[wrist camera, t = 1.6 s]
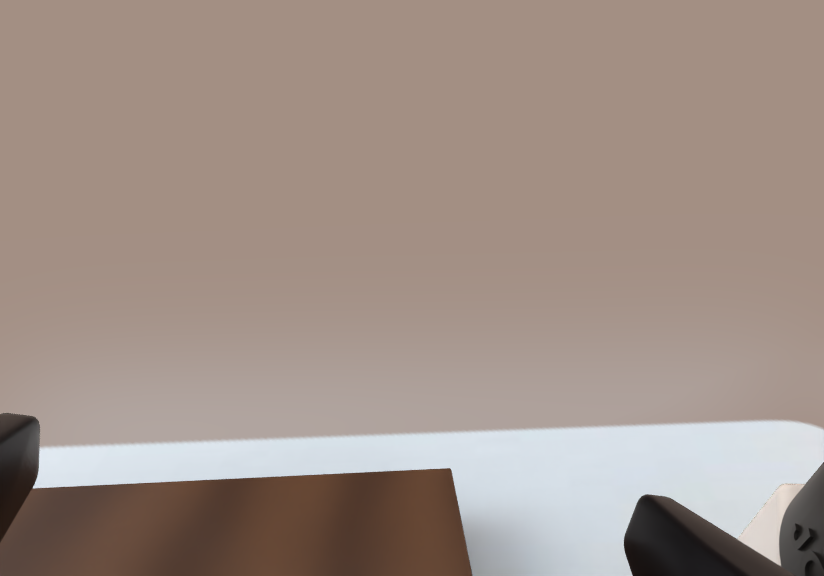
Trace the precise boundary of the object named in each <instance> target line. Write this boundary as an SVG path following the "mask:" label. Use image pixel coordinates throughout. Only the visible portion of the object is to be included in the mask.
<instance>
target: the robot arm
mask: <svg viewBox="0 0 824 576" xmlns="http://www.w3.org/2000/svg"><path fill="white" fill-rule="evenodd" d="M39 442H40V425H39V421H38V420H37V419H36V418H35V417H33V416H27V415H18V414H11V413H3V414H0V542H1V541H2V539H3V537H4V536H5V534H6V532H7V531H8V529H9V527H10V525H11V524H12V522H13V520H14V519H15V517H16V515H17V513H18V512H19V510H20V508H21V507H22V505H23V503H24V502H25V500H26V498H27V496H28V495H29V493H30V491H31V490H32V488H33V486H34V484H35V481H36V478H37V475H38V469H39ZM624 549H625V554H626V557H627V560H628V563H629V566H630V569H631V572H632V575H633V576H796V575H794V574H793V573H791V572H789V571H788V570H786V569H785V568H783V567H781V566H780V565H778V564H776V563H775V562H773V561H772V560H770V559H768V558H767V557H765V556H763V555H762V554H760V553H759V552H757V551H755V550H754V549H752V548H750V547H749V546H747V545H746V544H744V543H742V542H741V541H739V540H737V539H736V538H734V537H733V536H731V535H729V534H728V533H726V532H724V531H723V530H721V529H720V528H718V527H716V526H715V525H713V524H712V523H710V522H708V521H707V520H705V519H703V518H702V517H700V516H699V515H697V514H695V513H694V512H692V511H690V510H689V509H687V508H686V507H684V506H682V505H681V504H679V503H677V502H676V501H674V500H673V499H671V498H668V497H665V496H657V495H648V494H647V495H644V496H642V497H641V498H640V499H639V500H638V502H637V505H636V507H635V510H634V513H633V515H632V518H631V520H630V523H629V526H628V528H627V531H626V533H625V537H624Z"/></svg>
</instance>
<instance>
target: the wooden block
mask: <svg viewBox="0 0 824 576" xmlns="http://www.w3.org/2000/svg"><path fill="white" fill-rule="evenodd" d="M0 576H472V572H471V567H470V562H469V557H468V552H467V547H466V541H465V536H464V531H463V526H462V521H461V516H460V511H459V506H458V501H457V496H456V491H455V486H454V481H453V476H452V471H451V469H450V468H447V469H426V470H406V471H385V472H365V473H344V474H323V475H303V476H282V477H262V478H241V479H221V480H200V481H179V482H159V483H138V484H118V485H97V486H76V487H56V488H35V489H32V490H31V491H30V493H29V495H28V496H27V498H26V500H25V502H24V503H23V505H22V507H21V508H20V510H19V512H18V513H17V515H16V517H15V519H14V520H13V522H12V524H11V525H10V527H9V529H8V531H7V532H6V534H5V536H4V537H3V539H2V541H1V542H0Z"/></svg>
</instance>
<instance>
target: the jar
mask: <svg viewBox="0 0 824 576" xmlns="http://www.w3.org/2000/svg"><path fill="white" fill-rule="evenodd" d="M737 540H739V541H741V542H742V543H744V544H746V545H747V546H749V547H750V548H752V549H754V550H755V551H757V552H759V553H760V554H762V555H763V556H765V557H767V558H768V559H770V560H772V561H773V562H775V563H776V564H778V565H780V566H781V567H783V568H785V569H786V570H788V571H789V572H791V573H793V574H794V575H796V576H824V462H823V464H822V465H821V466H820V467H819V468H818V470H817V471H816V472H815V473H814V474H813V476H812V477H811V478H810V479H809V480H808V482H807V483H806V484H782V485H780V486H779V487H778V488H777V489H776V490H775V492H774V493H773V494H772V496H771V497H770V498H769V499H768V501H767V502H766V503H765V504H764V506H763V507H762V508H761V509H760V511H759V512H758V513H757V514H756V516H755V517H754V518H753V520H752V521H751V522H750V523H749V525H748V526H747V527H746V528H745V530H744V531H743V532H742V533H741V535H740V536H739V537H738V539H737Z"/></svg>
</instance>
